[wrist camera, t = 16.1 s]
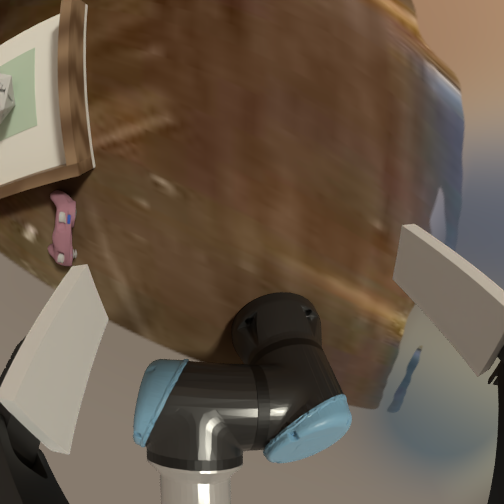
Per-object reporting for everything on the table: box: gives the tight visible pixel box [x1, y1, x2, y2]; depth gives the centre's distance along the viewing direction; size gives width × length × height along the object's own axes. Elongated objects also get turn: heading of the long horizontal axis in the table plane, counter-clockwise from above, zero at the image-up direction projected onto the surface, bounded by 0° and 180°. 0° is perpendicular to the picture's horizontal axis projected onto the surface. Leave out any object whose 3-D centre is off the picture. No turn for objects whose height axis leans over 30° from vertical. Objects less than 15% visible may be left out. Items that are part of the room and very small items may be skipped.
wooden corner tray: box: [0, 0, 95, 199], centre depth 23 cm, size 24×24×5 cm
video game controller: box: [48, 190, 77, 266], centre depth 32 cm, size 10×5×7 cm, turn 160°
